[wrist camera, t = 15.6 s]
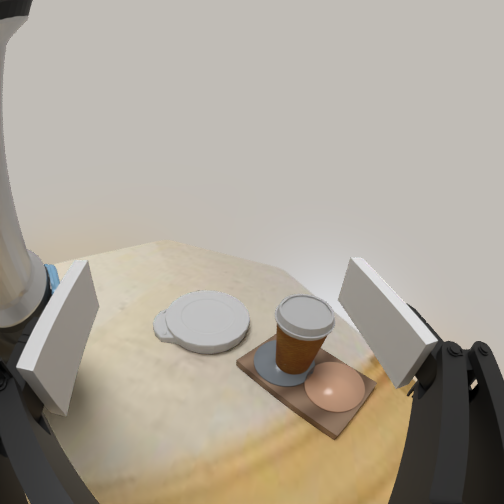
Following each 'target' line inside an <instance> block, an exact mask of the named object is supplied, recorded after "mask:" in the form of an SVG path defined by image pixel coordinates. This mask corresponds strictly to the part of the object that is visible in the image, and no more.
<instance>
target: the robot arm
mask: <svg viewBox="0 0 504 504" xmlns="http://www.w3.org/2000/svg"><path fill="white" fill-rule="evenodd" d="M32 1H33V0H0V504H28V502H27V499H26V496H25V494H26V495H27V497H28V499H29V501H30V503H31V504H99V503H98V501H97V500H96V499H95V497H94V496H93V495H92V493H91V492H90V491H89V489H88V488H87V487H86V485H85V484H84V482H83V481H82V480H81V478H80V477H79V475H78V474H77V472H76V471H75V469H74V468H73V466H72V464H71V463H70V461H69V460H68V458H67V456H66V455H65V453H64V451H63V449H62V448H61V446H60V444H59V442H58V441H57V439H56V437H55V435H54V433H53V431H52V429H51V427H50V425H49V423H48V421H47V419H46V417H45V415H44V414H43V413H42V410H43V406H45V407H46V408H47V409H48V410H49V412H50V413H53V414H57V415H62V416H67V413H68V408H69V404H70V399H71V395H72V391H73V387H74V383H75V380H76V376H77V372H78V369H79V365H80V362H81V359H82V355H83V352H84V349H85V346H86V343H87V340H88V337H89V334H90V331H91V328H92V325H93V322H94V320H95V317H96V314H97V311H98V309H99V303H98V300H97V296H96V292H95V288H94V284H93V280H92V276H91V272H90V267H89V263H88V260H74V262H73V263H72V265H71V266H70V268H69V269H68V271H67V273H66V274H65V276H64V277H63V279H62V280H61V282H60V281H59V277H58V273H57V270H56V267H55V266H54V265H47V264H44V265H43V263H42V261H41V259H40V258H39V256H38V255H36V254H35V253H34V252H32V251H30V250H28V249H26V246H25V242H24V239H23V236H22V233H21V229H20V226H19V222H18V218H17V214H16V210H15V206H14V202H13V197H12V192H11V187H10V182H9V176H8V170H7V163H6V156H5V146H4V135H3V117H2V88H3V87H2V86H3V69H4V59H5V51H6V45H7V43H8V41H9V39H10V38H11V36H12V35H13V34H14V33H15V32H16V31H17V30H18V29H19V28H20V27H21V26H22V25H23V24H24V23H25V22H26V21H27V19H28V15H29V11H30V7H31V3H32ZM338 301H339V302H340V303H341V305H342V306H343V308H344V309H345V311H346V312H347V313H348V315H349V317H350V318H351V320H352V321H353V323H354V324H355V326H356V327H357V329H358V330H359V332H360V333H361V335H362V336H363V338H364V339H365V341H366V342H367V344H368V345H369V347H370V348H371V350H372V351H373V353H374V355H375V356H376V358H377V359H378V361H379V362H380V364H381V365H382V367H383V369H384V370H385V372H386V373H387V375H388V377H389V378H390V380H391V381H392V383H393V385H394V386H395V388H396V389H397V388H400V387H402V386H405V385H408V384H409V383H410V381H411V380H412V379H413V377H414V376H416V378H417V379H418V380H417V382H416V383H415V384H414V385H413V387H412V388H411V389H410V391H409V392H408V394H407V396H409V395H410V394H411V393H412V392H413V391H414V394H413V396H412V398H413V402H412V409H411V415H410V421H409V427H408V432H407V437H406V442H405V447H404V451H403V455H402V459H401V463H400V467H399V471H398V474H397V478H396V481H395V484H394V487H393V491H392V494H391V497H390V500H389V502H388V504H504V380H503V377H502V374H501V372H500V369H499V367H498V364H497V362H496V360H495V357H494V355H493V353H492V351H491V349H490V347H489V346H488V345H487V344H485V343H483V342H481V341H476V342H475V343H474V344H473V346H472V347H471V349H469V350H463V349H462V348H461V347H460V346H459V345H458V344H456V343H454V342H451V341H446V342H444V341H443V340H442V339H441V338H440V337H439V336H438V334H437V333H436V332H435V331H434V330H433V329H432V327H431V326H430V325H429V324H428V323H426V321H425V319H424V318H423V317H421V315H420V314H419V313H418V312H417V311H416V309H414V308H413V307H411V306H410V305H408V304H407V303H405V302H404V301H403V300H402V299H401V298H400V297H399V296H398V295H397V293H396V292H395V291H394V290H393V289H392V288H391V287H390V286H389V285H388V284H387V283H386V282H385V281H384V280H383V279H382V277H381V276H380V275H379V274H378V273H377V272H376V271H375V270H374V269H373V268H372V267H371V266H370V265H369V264H368V263H367V262H366V261H365V260H364V259H363V258H362V257H361V258H350V261H349V264H348V268H347V271H346V275H345V278H344V281H343V285H342V288H341V291H340V294H339V298H338ZM475 379H477V382H478V384H477V385H476V386H475V388H474V389H472V388H471V386H470V385H471V384H472V383H473V382H474V380H475ZM24 492H25V493H24Z"/></svg>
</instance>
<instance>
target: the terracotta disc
mask: <svg viewBox="0 0 504 504" xmlns="http://www.w3.org/2000/svg"><path fill="white" fill-rule="evenodd" d="M312 370H313V369H312ZM310 372H311V370H310V371H309V373H310ZM312 373H313V374H311V375H310V374H308V376H309V375H310V376H309V377H308V376H306V377H307V379H306V378H305V380H306V381H305V382H304V388H305V392H306V394H307V396H308V398H309V399H310V400H311V401H312V402H313V403H314V404H315V405H316V406H318V407H319V408H321V409H323V410H326V411H329V412H336V413H340V412H346V411H349V410H352V409H353V408H355V407H356V406H357V405H358V404H359V403H360V402H361V401H362V399H363V397H364V394H365V385H364V382H363V380H362V378H361V376H360V375H359V374H358V373H357V372H356V371H355V370H354V369H352V368H351V367H349V366H347V365H345V364H342V363H338V362H324V363H320V364H318V365H316V366H315V367H314V370H313V372H312Z"/></svg>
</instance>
